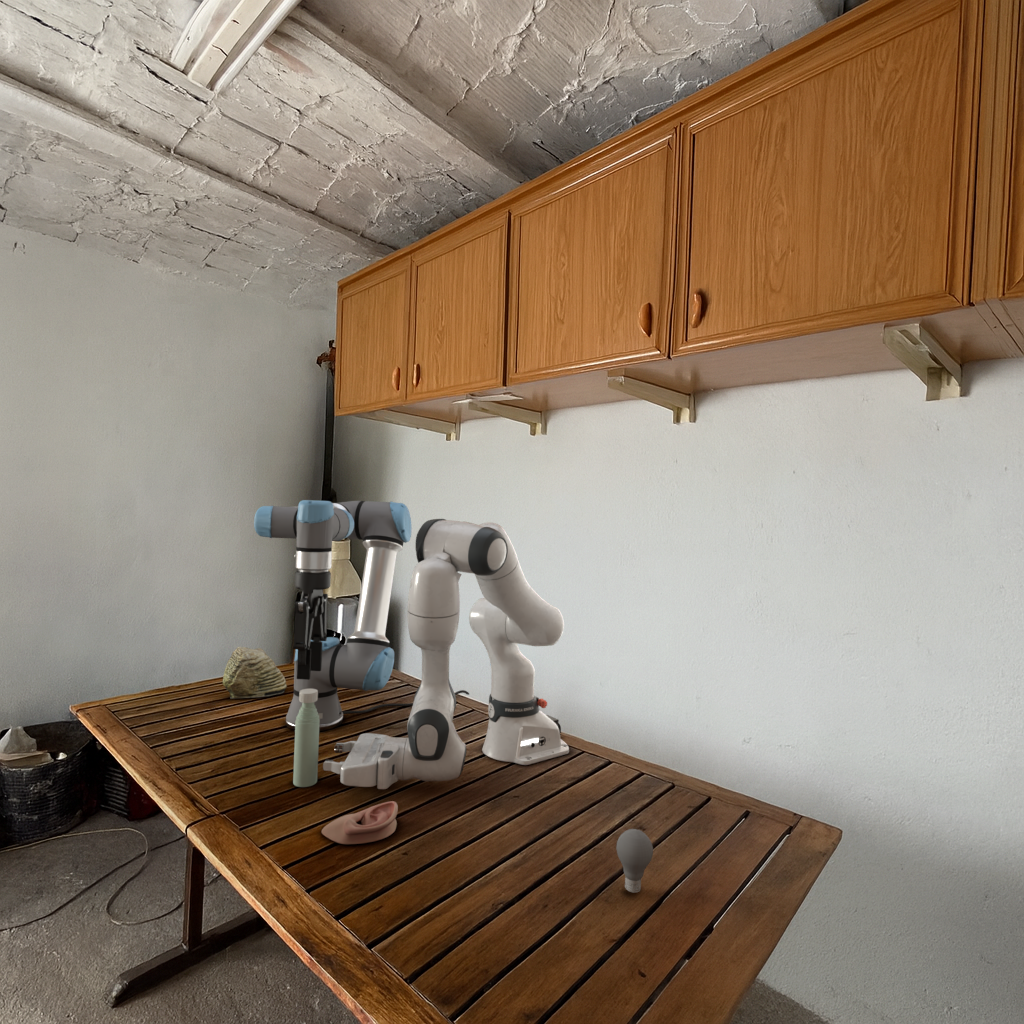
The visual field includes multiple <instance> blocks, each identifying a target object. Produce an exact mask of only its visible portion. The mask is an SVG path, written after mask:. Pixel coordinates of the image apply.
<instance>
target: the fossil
mask: <svg viewBox="0 0 1024 1024" xmlns="http://www.w3.org/2000/svg"><path fill="white" fill-rule="evenodd" d="M222 676H223V677H222V685H223V687H224V688H225V690H226V691H228V693H229V698H230V699H250V698H264V697H271V696H275V695H281V694H284V693H285V691H286V689H287V687H288V686H287V680H286V678H285V676H284V674H283V673H282V672H281V669H279V668H278V667H277V665H276V663H275V662H274V660H273V659H272V658H271V657H270V656H269V655H268V654H267V653H266V652H265V650H264V649H263V648H260V647H258V648H251V647H247V646H246V647H245V646H238V647H237V648H236V649H235V650H233V651H232V653H231V656H230V657H229V659H228V660H227V663H226V666H225V668H224V671H223V675H222Z"/></svg>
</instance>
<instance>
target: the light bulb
mask: <svg viewBox="0 0 1024 1024" xmlns="http://www.w3.org/2000/svg"><path fill="white" fill-rule="evenodd" d="M615 849H616V854H617V857H618V859H619V861H620V863H621V865H622V867H623V873H624V874H623V875H624V876H625V878H624V888H625V890H627V891H628V892H630V893H634V894H635V893H639V892H640V891H641V889H642V887H641V886H642V879H643V877H644V875H645V871H646V868H647V867H648V866H649V864H650V863H651V861H652V859H653V855H654V847H653V843H652V841H651V838H649V836H648V835H647V834H646V833H645V832H643V831H642V830H641V829H636V828H629V829H627V830H625V831H623V832H622V833H621V834H620V835H619V837H618V839H617V841H616V847H615Z"/></svg>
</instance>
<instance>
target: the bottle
mask: <svg viewBox="0 0 1024 1024" xmlns="http://www.w3.org/2000/svg"><path fill="white" fill-rule="evenodd" d="M315 707H316V706H315V705H314V702H312V703H302V706H301V709H300V710H299V713H298V716H297V717H296V721H295V730H294V748H293V749H294V750H293V752H294V753H293V755H294V756H293V775H292V776H293V777H292V784H293V785H294V786H295V787H298V788H309V787H312V786H314V785H316V784H317V783H318V775H319V747H320V743H319V742H320V731H319V722H320V719H319V715H318V712H317V709H316V708H315Z"/></svg>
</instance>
